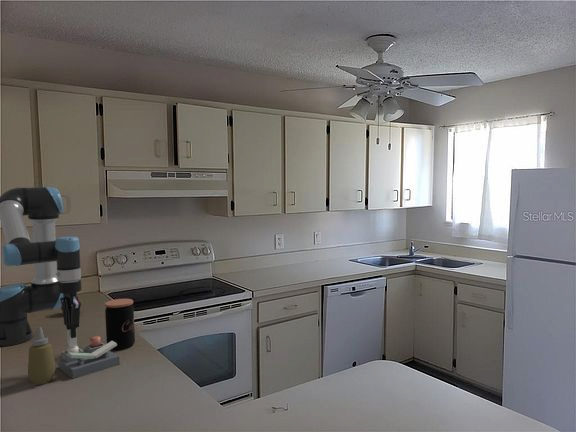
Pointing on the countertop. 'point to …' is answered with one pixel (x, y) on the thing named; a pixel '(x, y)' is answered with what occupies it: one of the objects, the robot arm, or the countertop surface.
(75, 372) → the panel
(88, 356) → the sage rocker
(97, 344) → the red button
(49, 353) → the squeeze bottle
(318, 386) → the countertop surface
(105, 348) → the block
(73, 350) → the ivory button
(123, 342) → the coffee jar
